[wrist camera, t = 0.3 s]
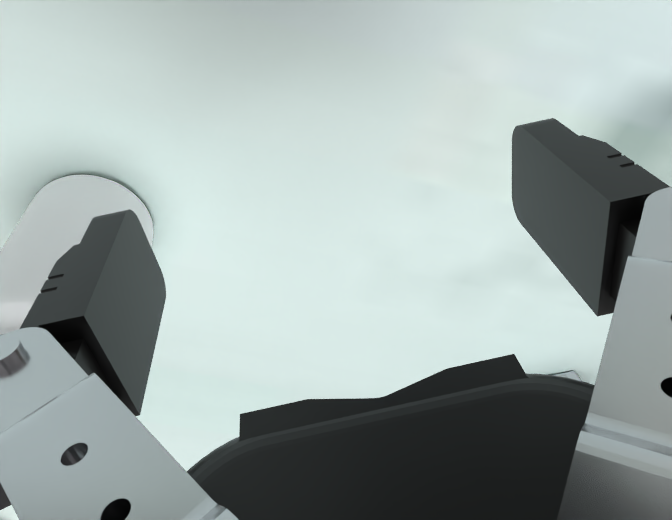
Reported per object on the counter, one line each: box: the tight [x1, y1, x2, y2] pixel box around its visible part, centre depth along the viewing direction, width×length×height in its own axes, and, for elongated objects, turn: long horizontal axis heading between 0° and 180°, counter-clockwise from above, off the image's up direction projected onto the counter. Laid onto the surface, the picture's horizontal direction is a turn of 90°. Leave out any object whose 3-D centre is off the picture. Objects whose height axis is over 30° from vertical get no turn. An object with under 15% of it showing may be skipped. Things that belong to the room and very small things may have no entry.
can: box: [0, 175, 154, 336], centre depth 26 cm, size 6×6×12 cm
